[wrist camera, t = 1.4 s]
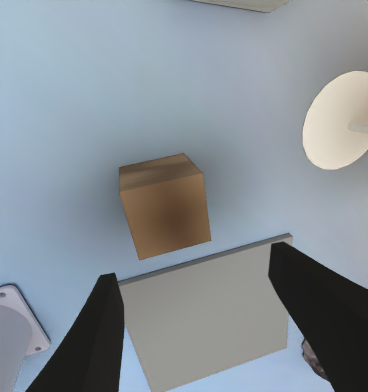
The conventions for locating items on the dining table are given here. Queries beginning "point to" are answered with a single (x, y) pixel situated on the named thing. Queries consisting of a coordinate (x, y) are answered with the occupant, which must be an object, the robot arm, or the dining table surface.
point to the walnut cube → (164, 205)
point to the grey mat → (205, 315)
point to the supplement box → (250, 4)
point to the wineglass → (338, 122)
